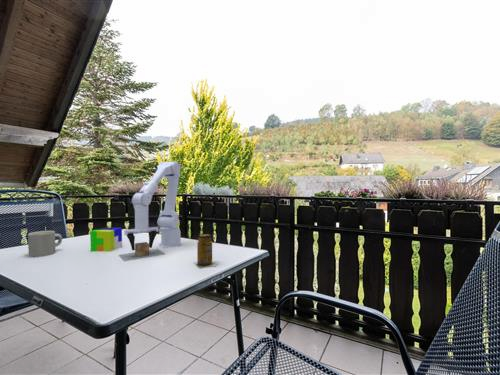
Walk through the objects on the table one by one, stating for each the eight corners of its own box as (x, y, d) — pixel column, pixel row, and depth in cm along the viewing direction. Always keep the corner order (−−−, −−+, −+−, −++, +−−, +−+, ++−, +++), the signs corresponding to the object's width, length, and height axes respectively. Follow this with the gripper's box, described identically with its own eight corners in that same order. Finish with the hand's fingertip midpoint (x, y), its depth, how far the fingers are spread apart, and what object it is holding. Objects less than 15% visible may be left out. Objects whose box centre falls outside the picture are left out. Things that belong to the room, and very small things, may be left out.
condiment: (210, 260, 116) (210, 232, 116) (216, 266, 109) (216, 236, 108) (193, 262, 113) (193, 234, 113) (199, 268, 105) (198, 238, 105)
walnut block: (146, 252, 127) (146, 241, 127) (149, 254, 123) (149, 243, 123) (135, 254, 124) (134, 243, 124) (138, 256, 120) (137, 245, 120)
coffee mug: (32, 258, 119) (31, 235, 119) (25, 254, 125) (25, 233, 125) (67, 251, 130) (66, 231, 129) (59, 248, 136) (58, 228, 135)
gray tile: (157, 249, 134) (157, 248, 134) (166, 254, 124) (166, 254, 124) (118, 255, 123) (118, 254, 123) (124, 262, 114) (124, 261, 114)
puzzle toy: (122, 247, 139) (121, 227, 139) (110, 252, 129) (109, 231, 129) (103, 246, 140) (103, 227, 140) (90, 251, 130) (90, 231, 130)
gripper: (126, 221, 116) (127, 253, 116) (160, 218, 124) (160, 248, 125) (123, 219, 121) (123, 249, 122) (155, 217, 130) (155, 245, 130)
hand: (142, 248), depth 124 cm, fingers open, 7 cm apart
